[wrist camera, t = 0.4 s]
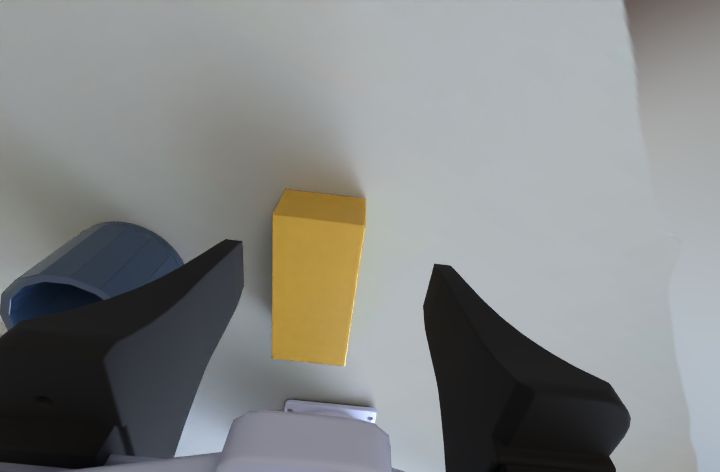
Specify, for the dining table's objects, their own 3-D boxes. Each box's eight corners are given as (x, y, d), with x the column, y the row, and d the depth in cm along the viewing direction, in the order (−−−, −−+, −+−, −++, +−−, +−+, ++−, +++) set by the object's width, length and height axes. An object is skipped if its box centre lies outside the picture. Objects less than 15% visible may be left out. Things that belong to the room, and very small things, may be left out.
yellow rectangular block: (347, 330, 28) (344, 366, 25) (282, 322, 28) (271, 359, 25) (366, 198, 23) (365, 224, 20) (285, 188, 23) (272, 213, 20)
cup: (192, 316, 28) (152, 382, 23) (90, 305, 28) (25, 370, 23) (181, 228, 24) (129, 284, 19) (62, 214, 24) (-23, 267, 19)
